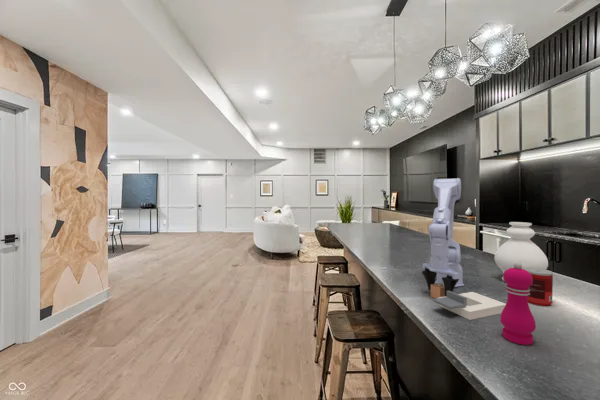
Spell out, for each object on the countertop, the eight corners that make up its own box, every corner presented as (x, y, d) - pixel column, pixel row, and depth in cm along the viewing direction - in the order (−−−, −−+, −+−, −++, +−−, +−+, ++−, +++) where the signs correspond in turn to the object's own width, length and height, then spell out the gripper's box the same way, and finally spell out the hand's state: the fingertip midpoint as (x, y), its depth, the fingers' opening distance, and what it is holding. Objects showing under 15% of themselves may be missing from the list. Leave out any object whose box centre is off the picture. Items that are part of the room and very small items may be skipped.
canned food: (545, 299, 98) (545, 268, 98) (557, 307, 90) (558, 274, 90) (519, 296, 101) (519, 266, 100) (529, 305, 93) (529, 272, 93)
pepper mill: (493, 332, 75) (493, 259, 75) (518, 331, 76) (518, 258, 75) (516, 347, 68) (516, 266, 67) (543, 345, 69) (544, 265, 68)
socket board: (472, 298, 99) (472, 291, 99) (507, 312, 88) (507, 304, 88) (437, 305, 94) (437, 297, 94) (469, 320, 82) (469, 311, 82)
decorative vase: (527, 275, 125) (527, 220, 125) (560, 289, 108) (560, 225, 107) (485, 274, 127) (486, 220, 127) (511, 288, 109) (511, 225, 109)
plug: (439, 295, 103) (439, 281, 103) (448, 299, 99) (448, 284, 99) (430, 296, 102) (430, 282, 102) (439, 300, 98) (439, 286, 98)
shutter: (448, 298, 92) (448, 290, 92) (466, 306, 86) (466, 297, 86) (433, 301, 90) (433, 293, 90) (450, 309, 83) (450, 300, 83)
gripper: (416, 253, 106) (416, 288, 106) (447, 261, 92) (447, 302, 92) (430, 251, 108) (430, 286, 108) (463, 259, 94) (463, 299, 95)
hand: (439, 293), depth 100 cm, fingers open, 7 cm apart
